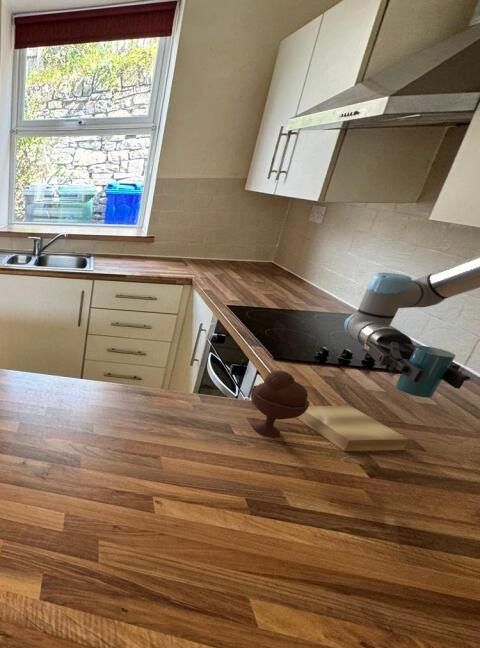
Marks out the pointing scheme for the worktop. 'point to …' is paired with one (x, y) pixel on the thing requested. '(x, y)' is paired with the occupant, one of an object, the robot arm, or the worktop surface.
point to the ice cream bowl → (278, 401)
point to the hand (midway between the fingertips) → (439, 379)
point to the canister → (426, 371)
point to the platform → (351, 429)
